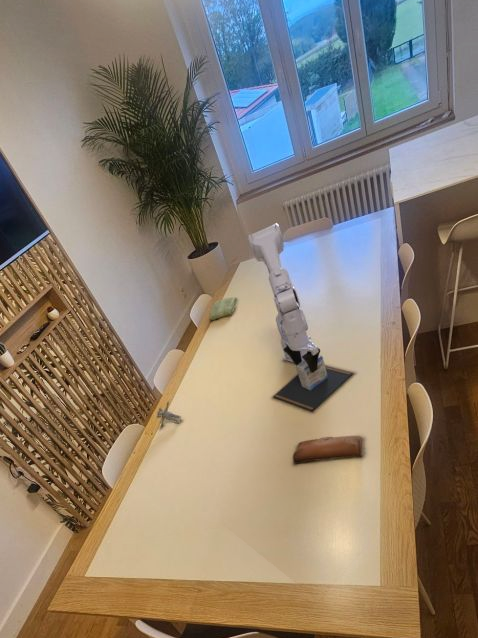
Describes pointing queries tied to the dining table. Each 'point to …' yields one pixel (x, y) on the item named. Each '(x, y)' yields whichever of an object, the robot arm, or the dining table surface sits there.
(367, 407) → the dining table surface
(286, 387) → the slate mat
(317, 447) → the sunglasses case
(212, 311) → the washcloth
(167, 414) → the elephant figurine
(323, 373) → the medicine box
